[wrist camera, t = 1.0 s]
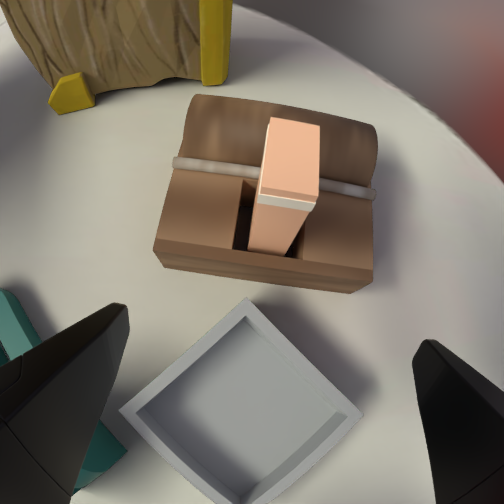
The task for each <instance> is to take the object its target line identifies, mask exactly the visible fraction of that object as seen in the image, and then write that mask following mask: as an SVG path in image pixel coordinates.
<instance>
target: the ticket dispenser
mask: <svg viewBox="0 0 504 504" xmlns="http://www.w3.org/2000/svg"><path fill="white" fill-rule="evenodd" d="M271 117H275V118H281V119H286V120H292V121H297V122H303V123H308V124H313V125H317V126H320V152H319V192H318V198H317V200H316V204H315V206H314V208H313V210H312V211H311V212H309V214H308V215H307V217H306V219H305V221H304V222H303V224H302V226H301V228H300V229H299V231H298V233H297V234H296V236H295V238H294V240H293V250H292V258H287V257H280V256H274V255H267V254H260V253H253V252H246V251H240V250H233V247H234V241H235V235H236V228H237V222H238V216H239V209H240V206H246V207H253V205H254V200H255V195H256V190H257V185H258V179H259V174H260V169H261V164H262V159H263V154H264V147H265V140H266V133H267V128H268V124H269V123H270V118H271ZM377 151H378V140H377V133H376V130H375V128H374V127H373V126H372V125H370V124H367V123H363V122H359V121H355V120H351V119H347V118H343V117H339V116H335V115H331V114H326V113H322V112H317V111H312V110H307V109H302V108H297V107H292V106H286V105H281V104H275V103H268V102H262V101H255V100H248V99H240V98H232V97H223V96H213V95H202V94H196V95H194V97H193V98H192V100H191V103H190V105H189V108H188V112H187V116H186V120H185V126H184V133H183V141H182V144H181V147H180V150H179V153H178V157H174V159H173V164H172V166H173V168H174V170H173V174H172V177H171V181H170V184H169V188H168V191H167V195H166V199H165V202H164V206H163V210H162V214H161V218H160V222H159V226H158V230H157V234H156V238H155V242H154V247H153V252H154V253H155V255H156V256H157V257H158V259H159V260H160V262H161V263H162V265H163V266H164V268H170V269H176V270H183V271H189V272H195V273H202V274H208V275H215V276H222V277H228V278H235V279H242V280H249V281H256V282H263V283H270V284H277V285H285V286H292V287H300V288H307V289H315V290H323V291H331V292H339V293H347V294H351V293H353V292H355V291H357V290H359V289H360V288H362V287H364V286H366V285H368V284H370V283H372V282H373V222H372V200H374V199H375V197H376V190H375V189H371V178H372V176H373V172H374V169H375V165H376V160H377Z"/></svg>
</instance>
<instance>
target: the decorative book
mask: <svg viewBox="0 0 504 504" xmlns="http://www.w3.org/2000/svg"><path fill="white" fill-rule="evenodd" d="M232 2H233V0H0V6H1V8H2V10H3V13H4V15H5V18H6V20H7V22H8V24H9V27H10V29H11V31H12V33H13V35H14V38H15V39H16V41H17V42H18V44H19V45H20V47H21V48H22V50H23V51H24V52H25V54H26V55H27V57H28V58H29V60H30V61H31V62H32V64H33V65H34V67H35V68H36V69H37V71H38V72H39V73H40V74H41V75H42V77H43V78H44V79H45V80H46V81H47V83H48V84H49V85H50V86H51V87H52V88H53V90H52V92H51V95H50V98H49V100H48V104H49V105H50V106H51V107H52V108H53V109H54V110H55V111H56V112H57V113H58V115H60V114H64V113H69V112H73V111H77V110H81V109H85V108H89V107H93V106H94V105H95V94H98V93H102V92H105V91H109V90H115V89H122V88H130V87H140V86H152V85H154V84H155V83H157V82H159V81H160V80H162V79H164V78H171V77H181V78H189V79H196V80H202V83H203V86H208V85H219V84H222V83H223V82H224V81H225V79H226V78H227V77H228V64H229V50H230V37H231V20H232Z"/></svg>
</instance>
